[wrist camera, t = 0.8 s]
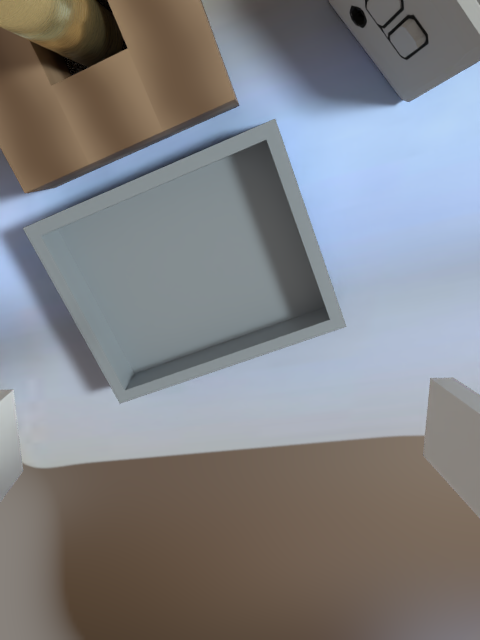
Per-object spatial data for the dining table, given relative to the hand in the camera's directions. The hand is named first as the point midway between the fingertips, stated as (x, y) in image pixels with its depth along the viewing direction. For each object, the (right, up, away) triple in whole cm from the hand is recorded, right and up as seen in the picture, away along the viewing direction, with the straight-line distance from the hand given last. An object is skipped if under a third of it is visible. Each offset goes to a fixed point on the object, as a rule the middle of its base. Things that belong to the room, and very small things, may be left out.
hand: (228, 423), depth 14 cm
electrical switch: (+11, +24, +17) cm, 32 cm away
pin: (-10, +24, +18) cm, 32 cm away
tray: (-3, +8, +24) cm, 26 cm away
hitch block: (-10, +24, +18) cm, 32 cm away
